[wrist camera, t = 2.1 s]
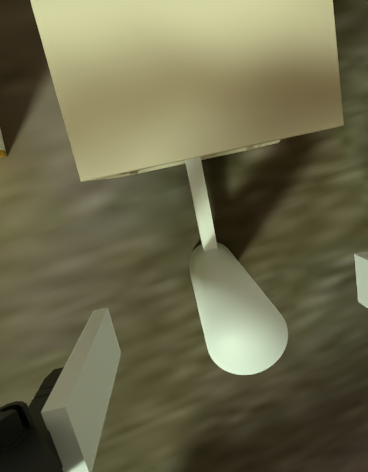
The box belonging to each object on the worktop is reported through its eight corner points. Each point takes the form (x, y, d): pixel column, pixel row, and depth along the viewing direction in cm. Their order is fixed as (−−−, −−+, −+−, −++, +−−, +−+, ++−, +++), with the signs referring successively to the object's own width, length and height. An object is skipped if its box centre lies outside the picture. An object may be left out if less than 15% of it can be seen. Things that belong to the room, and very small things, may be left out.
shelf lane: (258, 147, 23) (343, 125, 12) (122, 177, 22) (80, 181, 12) (219, -108, 19) (290, -478, 8) (59, -75, 19) (-84, -407, 8)
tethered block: (245, 277, 24) (307, 361, 14) (184, 291, 24) (199, 386, 13) (193, -23, 20) (224, -256, 9) (118, -7, 20) (60, -223, 9)
